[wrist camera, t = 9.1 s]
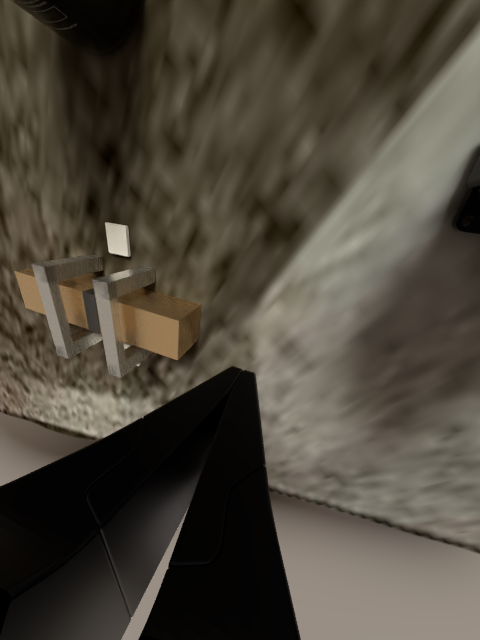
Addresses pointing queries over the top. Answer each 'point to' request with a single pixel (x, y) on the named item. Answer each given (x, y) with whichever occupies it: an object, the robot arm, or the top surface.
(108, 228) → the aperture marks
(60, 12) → the supplement bottle
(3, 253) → the top surface
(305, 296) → the top surface
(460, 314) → the top surface
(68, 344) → the collar
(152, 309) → the banded wooden block
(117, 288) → the collar
